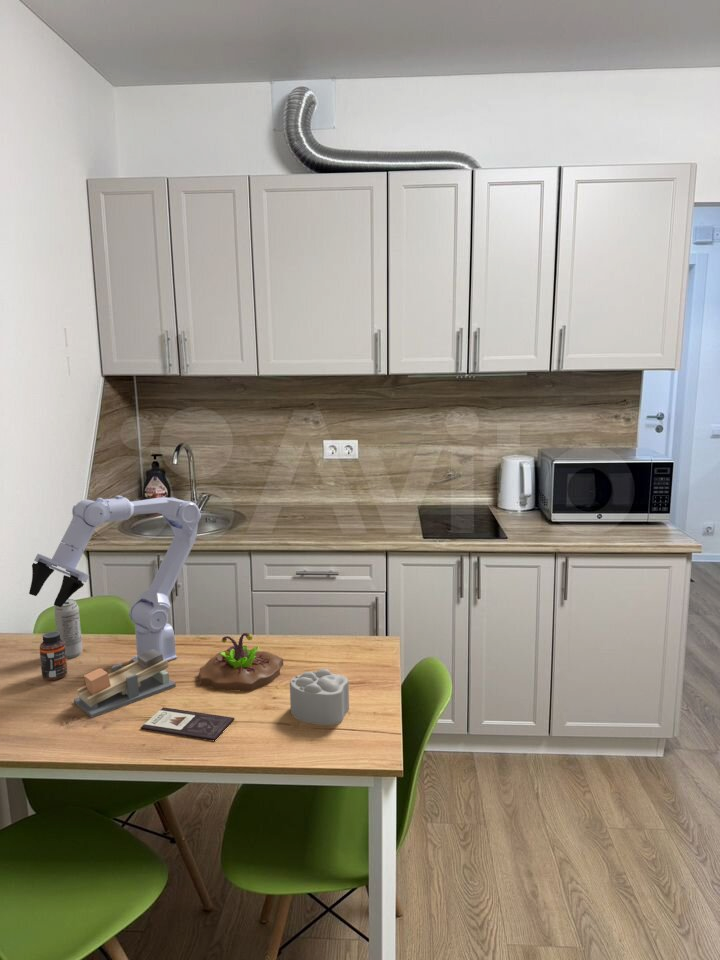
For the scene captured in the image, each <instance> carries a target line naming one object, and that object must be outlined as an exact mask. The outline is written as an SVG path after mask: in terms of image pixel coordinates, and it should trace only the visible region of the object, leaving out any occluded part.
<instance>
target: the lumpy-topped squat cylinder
mask: <svg viewBox="0 0 720 960" xmlns="http://www.w3.org/2000/svg"><path fill="white" fill-rule="evenodd" d="M349 682H350V681H349V678H348V677H346V676H344V675H342V674H338V673H332V672H331V671H330V669H326V668H321V669H319V670H316V671H305V672H303V673H302V674H299V675H296V676H293V677H292V678H291V679H290V681H289V698H290V699H289V702H290V713H291V715H292V716H293V717H294V718H295V719H297V720H298V721H301V722H303V723H307V724H313V725H319V726H320V725H321V726H322V725H323V726H334V725H338V724H340V723H342V722H343V721H344V717H345V716H346V715H347V713H348V712H349V710H350V690H349V689H350V686H349Z"/></svg>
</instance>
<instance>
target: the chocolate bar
mask: <svg viewBox="0 0 720 960" xmlns="http://www.w3.org/2000/svg"><path fill="white" fill-rule="evenodd" d="M234 721H235V717H233V716H225V715H219V714H211V713H205V712H204V713H203V712H197V711H191V710H183V709H176V708H169V707H162V708H160V709H159V710H158V711H157V712H156V713H155V714H154V715H153V716H152V717H151V718H149V719H148V721H145V723H144V724H143V725H141V726H140V730H141V731H147V732H154V733H161V734H166V735H174V736H178V735H179V736H178V737H184V736H186V737H185V738H192V739H197V738H198V739H199V740H203V739H206V740H205V741H209V740H214V741H213V742H216V741H217V740H218V739H219V738H220V737H221V736H222V735H223V733H224V732H225V731H226V730H227V729H228V728H229V727H230V726H231V724H233V722H234ZM229 725H230V726H229ZM228 726H229V727H228ZM227 727H228V728H227ZM226 728H227V729H226ZM225 729H226V730H225ZM224 730H225V731H224ZM223 731H224V732H223ZM220 735H221V736H220ZM219 736H220V737H219ZM218 737H219V738H218ZM217 738H218V739H217ZM198 739H197V740H198ZM216 739H217V740H216ZM215 740H216V741H215Z"/></svg>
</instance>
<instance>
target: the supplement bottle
mask: <svg viewBox="0 0 720 960" xmlns="http://www.w3.org/2000/svg"><path fill="white" fill-rule="evenodd" d="M39 655H40V669H41V677H42V679H43V680H46V681H56V680H60V679H63V678H65V677H66V676H67V674H68V665H67V664H68V663H67V659H66V650H65V642H64V641H63V640H61V639H60V633H59V632H57V631H48V632H46V633H44V634H43V635H42V642H41V643H40V645H39Z"/></svg>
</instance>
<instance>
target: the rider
mask: <svg viewBox="0 0 720 960" xmlns="http://www.w3.org/2000/svg"><path fill="white" fill-rule="evenodd" d="M108 674H109V673H108V672H107V671H105V670H104V669H103V668H101V667H99V668H96V669H94V670H93V671H90V672H89V673H86V674H84V675H83V677H84V681H85V686H86V685H87V689H88V691H89V692H90V693H92V694H93V695H94V694H96V693H98V692H100V691H102V690H104V689H106V688H108V687H110V686H111V684H110V680H109V676H108Z"/></svg>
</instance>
